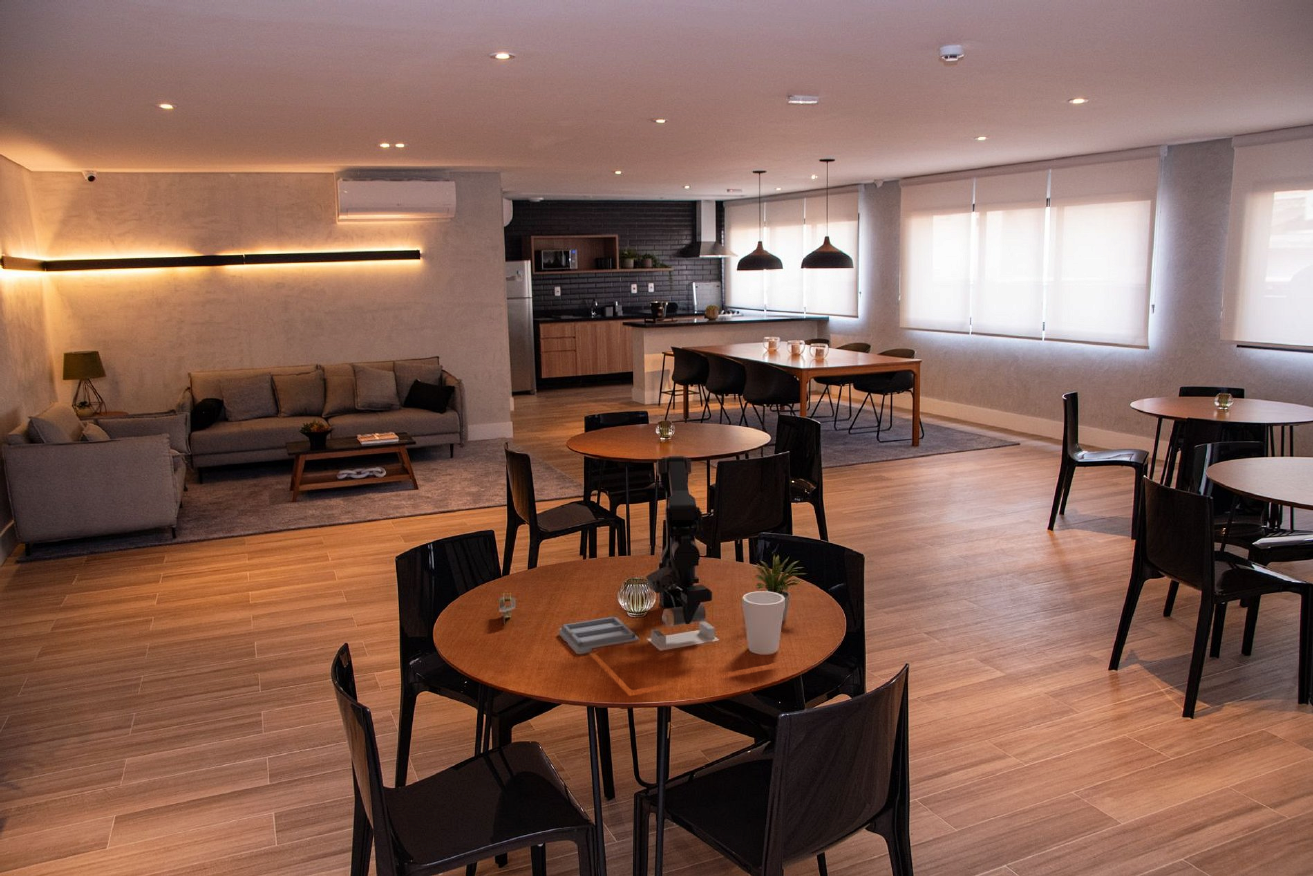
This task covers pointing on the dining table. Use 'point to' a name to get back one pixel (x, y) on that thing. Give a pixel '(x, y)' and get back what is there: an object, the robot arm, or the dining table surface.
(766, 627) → the foam cup
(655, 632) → the checker cradle
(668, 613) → the battery cell
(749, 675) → the dining table surface
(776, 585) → the house plant
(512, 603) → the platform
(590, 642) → the two-compartment grey tray
